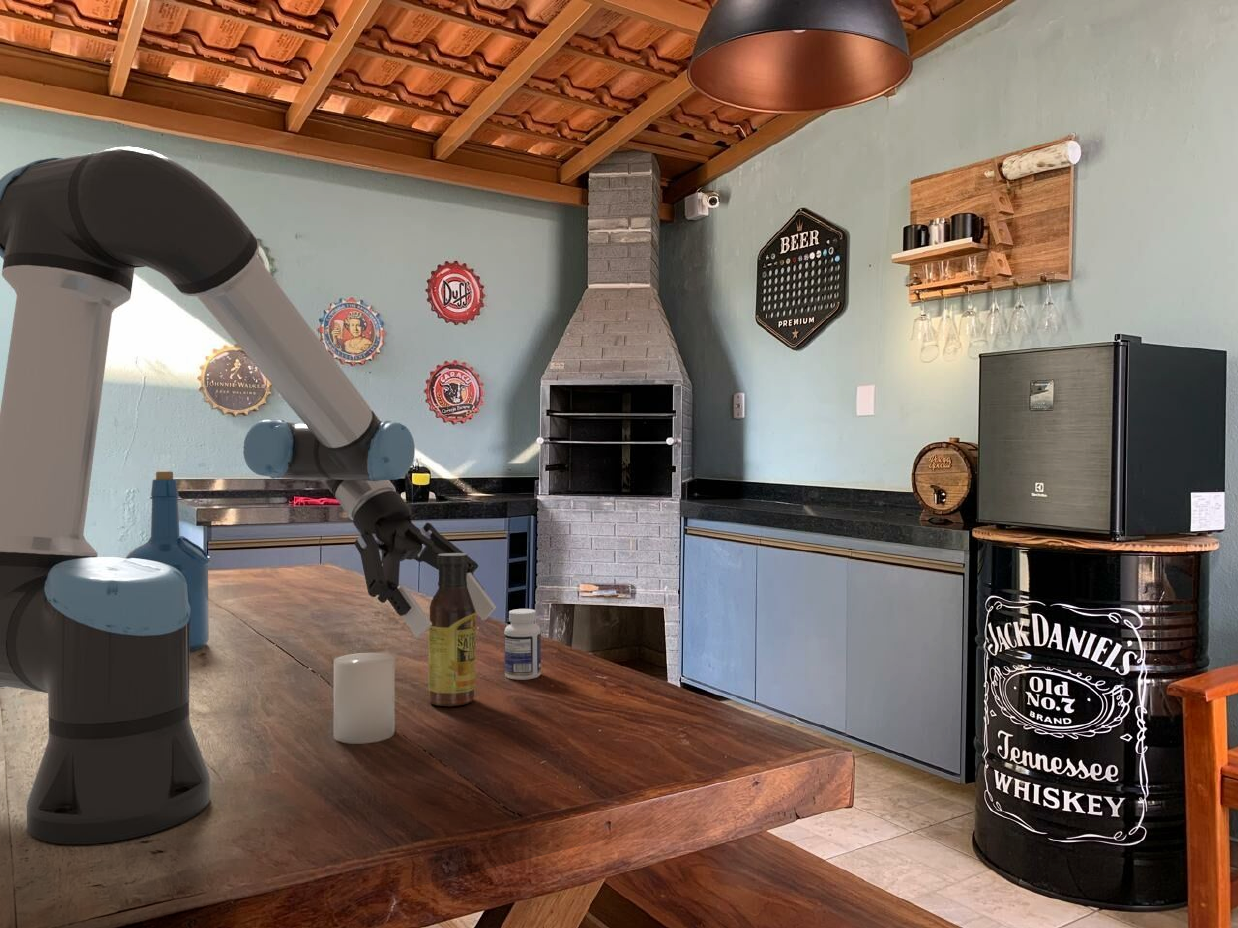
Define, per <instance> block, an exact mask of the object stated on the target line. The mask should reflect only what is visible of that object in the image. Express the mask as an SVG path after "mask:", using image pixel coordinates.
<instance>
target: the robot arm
mask: <svg viewBox="0 0 1238 928" xmlns="http://www.w3.org/2000/svg"><path fill="white" fill-rule="evenodd" d="M259 251H260V243H259V241H258V239H257V238H256V237H255V235H254V234H253V232H252V231H251V230H250V228H249V227H248V225H246V223H245V222H244V221H243V219H241V217H240V216H239V215H238V213H237V212H236V211H235V210H234V208H233V207H232V206H231V205H229V203H228V202H227V201H226V200H225V199H224V198H223V197H222V196H221V195H220V194H218V192H216V191H215V190H214V189H213V188H212V187H211V186H210V185H209V184H208V183H206V181H204V180H203V179H201V178H200V177H199V176H197V175H196V174H195V173H193V171H191V170H189V169H187V168H186V167H184V166H183V165H181V164H180V163H178V162H177V161H175V160H173V159H171V158H169V157H167V156H165V155H163V154H160V153H158V152H155V151H152V150H148V149H144V148H141V147H134V146H133V147H132V146H119V147H118V146H117V147H112V148H107V149H104V150H101V151H95V152H90V153H83V154H79V155H74V156H73V155H72V156H67V157H48V158H43V159H42V158H40V159H37V160H35V161H32V162H31V161H30V162H29V163H27V164H25V165H22V166H19V167H17V168H14V169H12V170H11V171H9V172H7V173H6V174H5V175H3V176H2V177H1V178H0V257H1V259H2V260H3V263H2V269H1V276H2V277H3V279H4V280H5V281H6V282H7V283H8V284H9V286H10V287H11V288H12V289H13V290H14V292H15V294H16V300H15V305H14V306H15V307H14V314H13V319H12V320H13V321H12V326H11V327H12V328H11V335H10V340H9V341H10V342H9V348H8V355H7V362H6V368H5V377H4V381H3V382H4V383H3V390H2V397H1V404H0V688H4V687H5V688H6V687H7V688H13V689H20V690H26V691H32V692H39V693H40V692H41V693H46V694H47V697H48V699H47V701H48V706H47V707H48V708H47V709H48V710H47V711H48V714H47V715H48V739H47V744H46V747H45V750H44V751H43V752H44V753H43V755H42V758H41V762H40V764H39V768H38V770H37V773H36V776H35V779H34V782H33V783H32V788H31V790H30V793H29V796H28V798H27V803H26V830H27V832H28V834H29V835H30V836H32V837H33V838H34V839H37V840H39V841H42V842H47V843H52V844H59V845H90V844H91V845H92V844H102V843H105V844H106V843H112V842H118V841H124V840H130V839H135V838H138V837H143V836H146V835H151V834H154V833H158V832H160V831H164V830H166V829H170V828H172V827H175V826H177V825H179V824H182V823H184V822H186V821H188V820H190V819H191V818H194V817H195V816H197V814H199V813H200V812H202V811H203V810H204V809H205V808H206V807H207V806H208V804H209V802H210V800H211V781H210V775H209V774H210V772H209V770H208V768H207V765H206V762H205V759H204V757H203V755H202V752H201V748H200V746H199V744H198V742H197V741H198V740H197V738H196V736H195V733H194V730H193V728H192V725H191V722H190V721H191V720H190V657H191V656H190V654H191V653H190V652H191V651H190V612H191V609H190V605H189V603H188V594H187V583H186V580H185V578H184V576H183V575H182V573H181V572H180V571H179V570H177V569H176V568H174V567H172V566H170V565H167V564H164V563H161V562H157V561H152V560H146V559H138V558H129V559H126V557H124V558H123V557H118V556H98V554H99V553H98V551H96V550H95V549H94V547H93V546H92V545H91V544H90V543H89V542H88V541H87V540H86V538H85V535H84V534H85V533H84V532H85V525H86V517H87V509H88V503H89V502H88V501H89V494H90V486H91V478H92V470H93V463H94V462H93V461H94V456H95V455H94V454H95V449H96V448H95V447H96V439H97V433H98V423H99V418H100V407H101V401H102V394H103V387H104V378H105V370H106V363H107V362H106V361H107V354H108V347H109V341H110V340H109V338H110V332H111V323H112V316H113V315H112V314H113V312H114V311H115V310H116V309H117V308H118V307H120V306H122V305H124V304H125V303H127V302H128V301H129V300H131V297H132V289H133V282H134V276H135V275H134V273H135V269H137V268H144V267H145V268H146V267H147V268H149V269H152V270H154V271H156V272H158V273H160V274H162V275H163V276H164V277H166V278H167V279H168V280H169V281H170V282H171V283H172V284H173V286H174V287H175V288H176V289H177V290H178V292H180V293H181V294H182V295H184V296H188V297H197V298H198V299H199V301H201V303H202V304H203V305H204V307H205V308H206V309H207V310H208V311H209V313H211V315H212V316H213V317H214V318H215V319H216V321H217V322H218V323H219V324H220V326H222V328H223V329H224V330H225V332H227V334H228V335H229V336H230V337H231V339H232V340H233V341H234V342H235V343H236V344H237V345H238V347H239V348H240V349H241V351H243V352H244V354H245V355H246V356H247V357H248V359H249V360H250V361H251V362H252V363H253V365H254V366H255V367H256V368H257V369H258V370H259V371H260V373H261V374H262V375H263V377H264V378H266V380H267V381H268V382H269V383H270V385H271V386H272V387H273V388H274V389H275V390H276V392H278V394H279V395H280V397H281V398H282V399H283V400H284V402H286V403H287V405H288V406H289V407H290V408H291V410H292V411H293V412H294V413H295V414H296V416H298V418H299V419H300V420H301V422H287V421H285V420H283V419H277V420H274V419H273V420H272V419H264V420H260V421H258V422H256V423H255V424H253V425H251V428H249V430H248V431H247V433H246V434H245V437H244V440H243V451H242V452H243V453H242V454H243V458H244V462H245V463H246V465H247V467H248V468H249V470H251V472H253V473H254V474H256V475H259V476H262V477H263V476H264V477H269V478H271V479H273V480H274V479H288V480H289V479H290V480H299V481H300V480H303V481H309V482H310V481H311V482H322V483H323V484H324V485H325V487H327V488H328V490H329V491H330V493H331V494H332V495H333V497H334V498H335V499H336V501H338V503H339V504H340V506H341V508H342V509H343V510H344V512H345V514H346V515H347V517H348V518H349V519H350V520H351V521H352V524H353V525H354V527H355V528H356V530H357V531H358V532H359V536H358V537H357V538H356V539H355V541H354V545H355V548H356V549H357V552H358V553H359V555H360V559H361V564H362V569H363V575H364V579H365V583H366V589H367V593H368V595H369V597H372V598H376V597H377V600H378V601H379V602H380V603H382V604H383V603H384V604H385V603H386V602H387V601H388V602H389V604H390V605H391V606H392V608H393V609H394V611H395V612H396V614H397V615H398V616H400V617H402V619H403V621H404V623H406V625H407V626H408V627H409V629H410V631H411V632H412V633H413V635H414V637H415V638H416V639H420V638H422V637H423V636H424V635H425V634H426V632H427V631H429V628H430V626H431V625H432V623H431V621H430V617H428V616H427V615H426V613H425V612H424V610H423V609H422V607H421V606H420V605H419V603H418V601H417V600H416V599H415V597H414V596H413V595H412V593H411V592H410V590H409V589H408V587H407V586H406V585H401V586H399V585H400V582H399V581H400V568H401V566H400V565H401V562H403V561H405V560H410V561H411V560H415V562H420V563H422V562H424V563H426V564H427V565H429V566H431V567H433V568H434V569H437V570H438V571H439V566H438V554H444V553H464V551H462V550H461V549H460V548H458V547H457V546H456V545H454V544H453V543H452V542H451V541H449V540H448V539H447V538H446V537H445V536H443V535H442V534H440V533H439V531H438V530H437V529H436V528H435V526H434V525H433V524H431V522H426V523H425V524H424V525H423V526H422V527H418V526H417V525H415V524H414V523H413V522H412V518H411V517H412V511H411V508H410V506H409V505H408V504H407V502H406V501H405V500H404V499H403V497H402V496H401V494H400V493H399V492H398V491H396V486H395V485H394V484H393V483H392V481H391V480H393V481H394V480H395V481H396V480H399V479H401V478H404V476H405V475H407V474H408V473H409V471H410V469H411V466H412V465H413V463H414V458H415V455H416V454H415V453H416V452H415V450H416V449H415V441H414V437H413V434H412V432H411V431H410V429H409V428H408V427H407V426H406V425H405V424H402V423H400V422H393V421H391V420H385V421H382V420H380V419H379V417H378V416H377V414H376V413H375V412H374V410H372V409H371V407H370V405H369V404H368V403H367V401H366V400H365V398H364V397H363V396H362V395H361V393H360V392H359V390H358V389H357V388H356V387H355V385H354V384H353V382H352V381H351V380H350V378H349V377H348V376H347V374H346V373H345V372H344V370H343V369H342V368H341V366H340V365H339V363H337V361H336V360H335V358H334V357H333V356H332V355H331V353H330V351H329V350H328V348H326V346H325V345H324V344H323V343H322V341H321V340H320V338H319V337H318V336H317V334H316V333H315V332H314V330H313V329H312V328H311V326H310V325H309V324H308V322H307V321H306V320H305V319H304V317H303V315H302V314H301V313H300V312H299V311H298V309H297V307H296V306H295V305H294V304H293V302H292V301H291V300H290V298H289V297H288V295H287V294H286V293H285V292H284V290H283V289H282V288H281V286H280V285H279V284H278V283H277V281H276V279H275V278H274V277H273V276H272V274H271V273H270V271H269V270H268V269H267V268H266V266H265V265H264V263H263V262H262V261H261V260H260V257H258V254H259ZM423 545H424V546H425V547H424V548H423ZM380 551H381V552H380ZM478 568H479V563H477V562H476V561H475V560H473V559H472V558H471V557H469V556H468V565H467V588H468V591H469V594H470V597H471V599H472V602H473V605H474V608H475V611H476V615H478V617H479V618H480V620H481V621H486V620H487V619H488V618H489V616H491V615H492V613H493V612H495V610H496V609H497V606H496V604H495V603H494V602H493V601H492V599H491V598H490V597H489V595H488V594H487V593H486V591H485V589H484V588H483V586H482V585H481V583H480V582H479V580H478V579H477V578H476V577H475V575H474V573H475V572H476V571H477V569H478Z"/></svg>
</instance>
